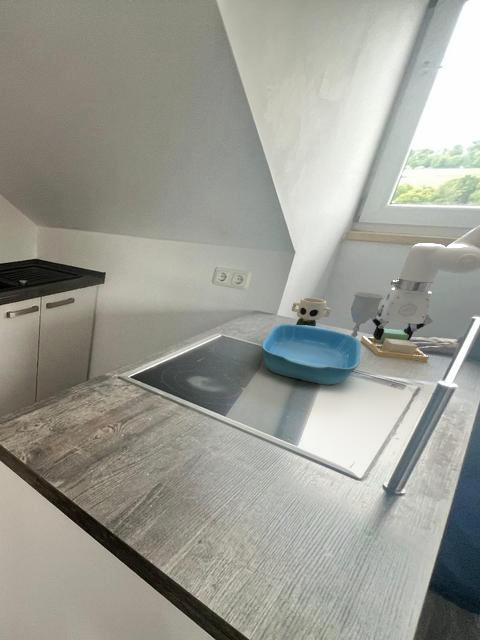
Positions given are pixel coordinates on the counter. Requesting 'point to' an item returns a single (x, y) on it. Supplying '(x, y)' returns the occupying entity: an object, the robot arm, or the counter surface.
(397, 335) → the green block
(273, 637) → the counter surface
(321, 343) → the casserole dish
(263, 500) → the counter surface
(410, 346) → the beige block
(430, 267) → the robot arm
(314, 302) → the character mug
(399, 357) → the backing tray
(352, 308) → the chalice
